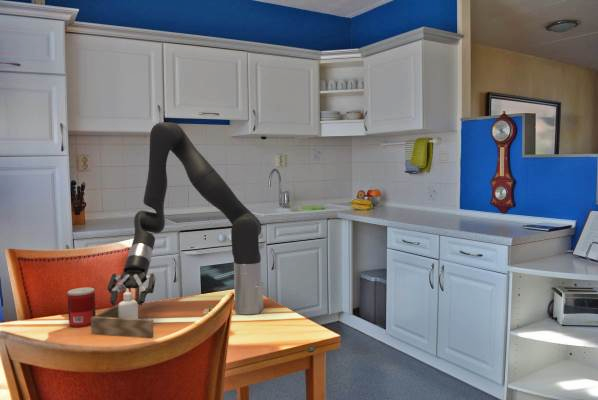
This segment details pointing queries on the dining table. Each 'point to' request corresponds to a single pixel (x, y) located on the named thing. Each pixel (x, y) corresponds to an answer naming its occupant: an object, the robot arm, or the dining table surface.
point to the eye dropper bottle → (128, 307)
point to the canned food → (81, 306)
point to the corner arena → (120, 325)
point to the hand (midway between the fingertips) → (126, 304)
